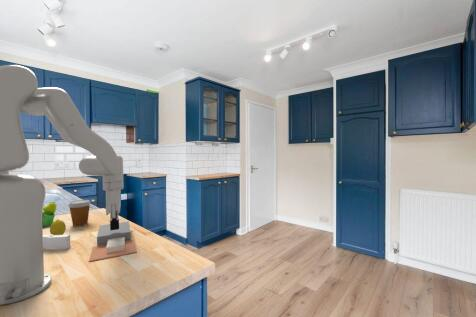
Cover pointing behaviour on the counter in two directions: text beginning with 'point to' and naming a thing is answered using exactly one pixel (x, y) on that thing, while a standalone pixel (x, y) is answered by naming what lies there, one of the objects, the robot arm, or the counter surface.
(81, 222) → the disposable coffee cup
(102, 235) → the grey block
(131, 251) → the mat
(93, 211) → the counter surface
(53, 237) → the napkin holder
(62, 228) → the lemon
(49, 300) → the counter surface
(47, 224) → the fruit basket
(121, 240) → the tile
